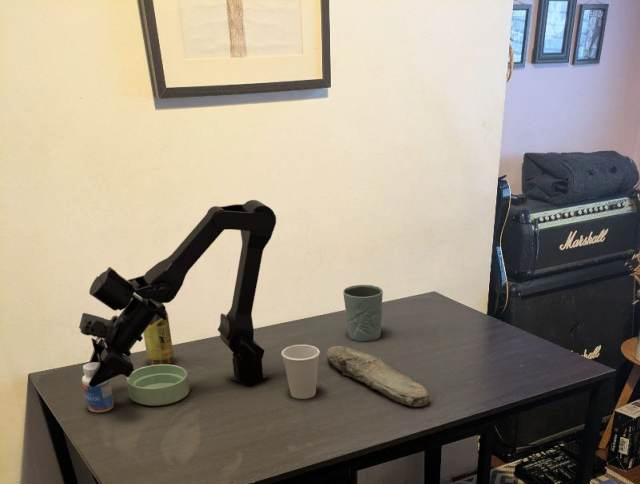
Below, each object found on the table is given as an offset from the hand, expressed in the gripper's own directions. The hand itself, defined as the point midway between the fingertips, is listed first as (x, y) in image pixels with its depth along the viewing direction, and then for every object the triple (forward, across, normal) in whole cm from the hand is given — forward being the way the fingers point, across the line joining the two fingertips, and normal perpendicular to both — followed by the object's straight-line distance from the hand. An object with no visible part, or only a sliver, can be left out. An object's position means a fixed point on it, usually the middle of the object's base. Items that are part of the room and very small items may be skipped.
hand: (88, 380), depth 163 cm
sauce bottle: (-8, -19, +18) cm, 27 cm away
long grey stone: (-38, +12, +48) cm, 63 cm away
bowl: (-6, -1, +15) cm, 16 cm away
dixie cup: (-26, +11, +36) cm, 46 cm away
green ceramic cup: (-45, -15, +55) cm, 72 cm away
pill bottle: (+4, 0, +6) cm, 7 cm away
